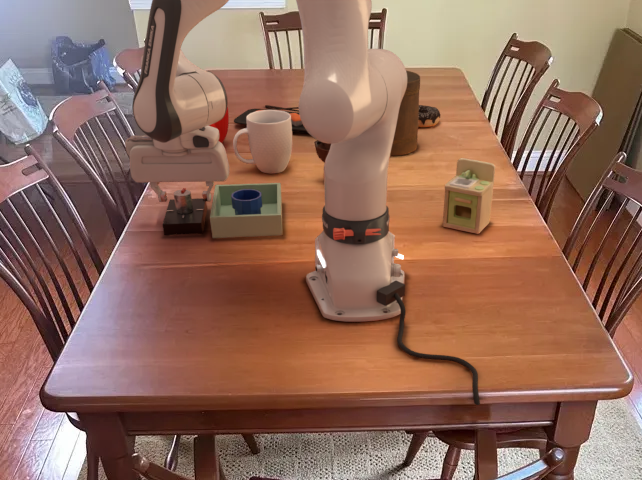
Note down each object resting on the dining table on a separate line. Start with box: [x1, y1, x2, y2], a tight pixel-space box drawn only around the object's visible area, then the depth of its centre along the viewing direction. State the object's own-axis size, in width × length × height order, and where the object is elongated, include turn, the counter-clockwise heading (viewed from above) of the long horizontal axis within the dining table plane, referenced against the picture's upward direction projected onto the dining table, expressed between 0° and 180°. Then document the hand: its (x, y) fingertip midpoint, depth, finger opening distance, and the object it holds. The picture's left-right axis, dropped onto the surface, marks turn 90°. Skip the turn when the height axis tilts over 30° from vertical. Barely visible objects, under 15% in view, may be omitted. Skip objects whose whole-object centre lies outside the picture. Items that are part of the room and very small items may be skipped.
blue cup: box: [231, 189, 262, 215], centre depth 152 cm, size 6×6×6 cm
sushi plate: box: [233, 104, 309, 134], centre depth 211 cm, size 29×30×4 cm
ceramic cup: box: [208, 106, 230, 144], centre depth 188 cm, size 13×17×10 cm
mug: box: [232, 110, 293, 174], centre depth 175 cm, size 15×11×13 cm
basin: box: [209, 182, 283, 239], centre depth 153 cm, size 18×15×5 cm
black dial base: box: [162, 197, 208, 236], centre depth 152 cm, size 13×8×3 cm, turn 5°
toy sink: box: [442, 157, 496, 235], centre depth 149 cm, size 8×7×13 cm
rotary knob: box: [173, 187, 193, 214], centre depth 150 cm, size 4×4×4 cm
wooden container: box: [390, 70, 421, 157], centre depth 185 cm, size 15×15×22 cm
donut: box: [418, 104, 441, 128], centre depth 207 cm, size 11×12×4 cm
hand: (185, 200), depth 150 cm, fingers open, 8 cm apart
